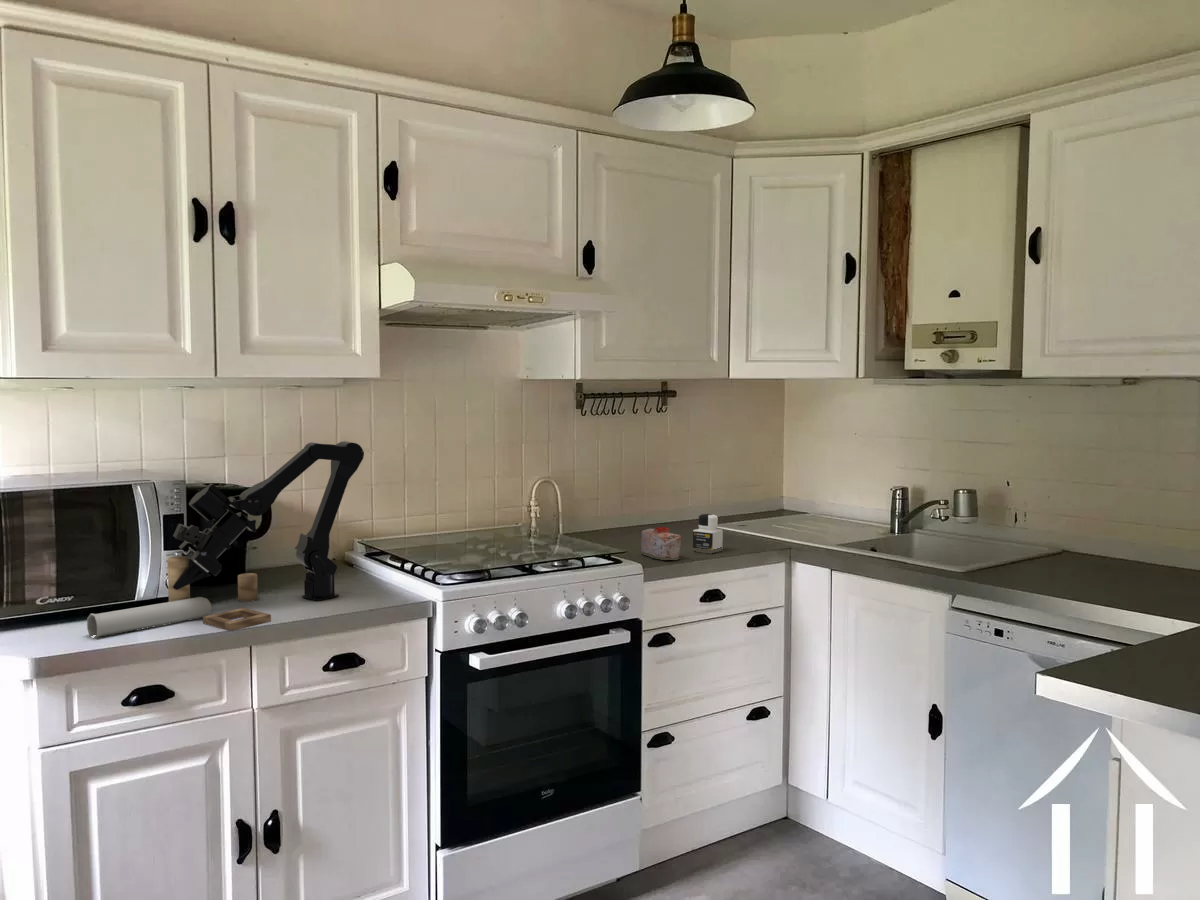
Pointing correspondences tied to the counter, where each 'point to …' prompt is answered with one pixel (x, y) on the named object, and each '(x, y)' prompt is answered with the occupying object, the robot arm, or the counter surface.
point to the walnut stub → (247, 587)
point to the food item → (660, 542)
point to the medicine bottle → (708, 533)
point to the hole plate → (249, 619)
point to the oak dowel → (174, 572)
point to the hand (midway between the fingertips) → (172, 586)
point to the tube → (147, 616)
